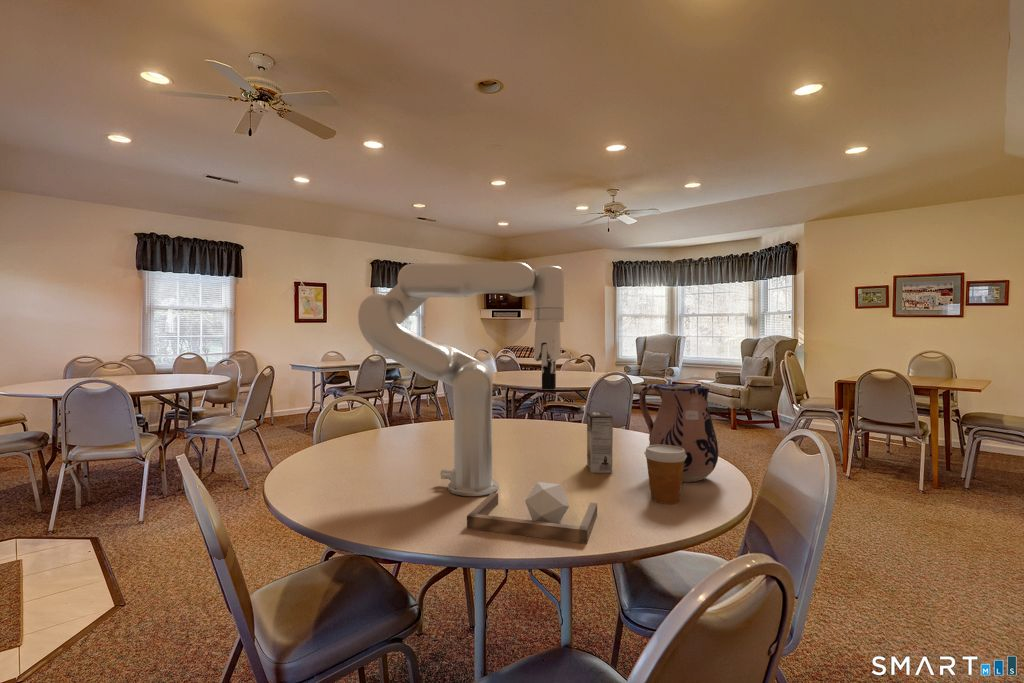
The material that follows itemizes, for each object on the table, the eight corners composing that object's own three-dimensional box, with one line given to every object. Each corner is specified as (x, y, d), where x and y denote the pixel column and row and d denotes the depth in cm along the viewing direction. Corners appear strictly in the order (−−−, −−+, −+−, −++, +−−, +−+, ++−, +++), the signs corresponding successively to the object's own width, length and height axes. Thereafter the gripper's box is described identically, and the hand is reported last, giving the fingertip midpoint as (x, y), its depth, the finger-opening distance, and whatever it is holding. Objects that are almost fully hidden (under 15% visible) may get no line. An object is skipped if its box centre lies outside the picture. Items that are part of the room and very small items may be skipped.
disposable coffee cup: (639, 492, 119) (640, 443, 119) (679, 493, 119) (679, 444, 118) (649, 506, 109) (649, 453, 109) (692, 506, 109) (692, 453, 109)
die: (573, 520, 103) (553, 478, 107) (577, 514, 95) (556, 469, 99) (538, 537, 101) (519, 494, 106) (539, 532, 94) (519, 485, 98)
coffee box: (586, 464, 145) (586, 410, 145) (607, 464, 145) (607, 410, 145) (590, 473, 136) (590, 415, 136) (613, 473, 136) (613, 415, 135)
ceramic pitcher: (713, 492, 119) (713, 390, 119) (628, 479, 130) (629, 386, 129) (722, 474, 135) (722, 384, 134) (645, 464, 145) (645, 380, 145)
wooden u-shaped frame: (466, 528, 97) (466, 515, 97) (492, 503, 111) (492, 492, 111) (586, 543, 90) (586, 530, 90) (597, 514, 104) (597, 503, 104)
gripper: (541, 317, 130) (541, 385, 130) (526, 315, 116) (526, 392, 116) (569, 316, 128) (569, 386, 128) (557, 314, 113) (557, 393, 114)
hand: (548, 388), depth 122 cm, fingers closed
